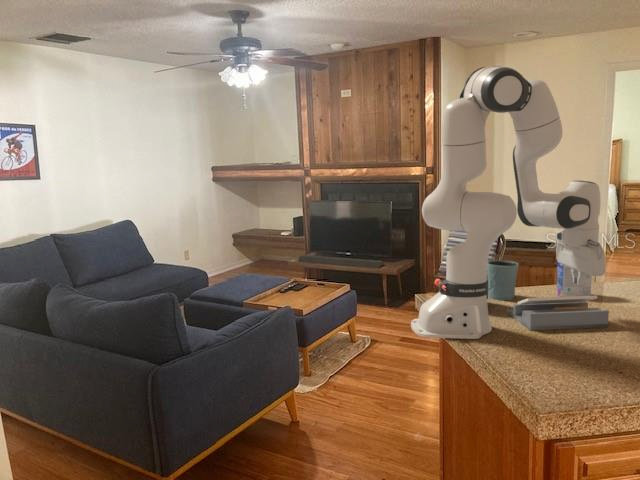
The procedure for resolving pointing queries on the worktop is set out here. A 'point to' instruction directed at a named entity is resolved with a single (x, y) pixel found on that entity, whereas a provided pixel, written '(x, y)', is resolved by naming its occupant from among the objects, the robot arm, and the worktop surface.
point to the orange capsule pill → (570, 307)
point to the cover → (557, 300)
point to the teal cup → (502, 279)
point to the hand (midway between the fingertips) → (578, 284)
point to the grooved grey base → (559, 316)
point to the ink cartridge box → (571, 283)
